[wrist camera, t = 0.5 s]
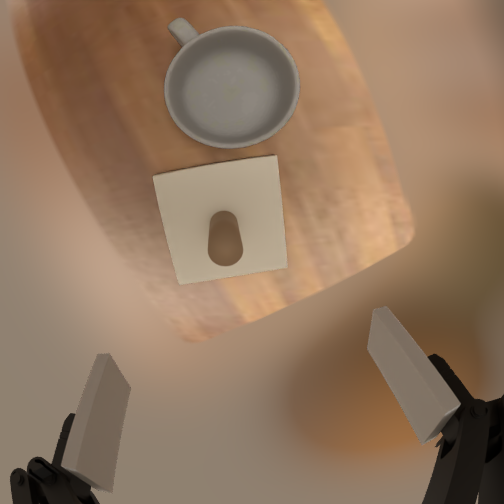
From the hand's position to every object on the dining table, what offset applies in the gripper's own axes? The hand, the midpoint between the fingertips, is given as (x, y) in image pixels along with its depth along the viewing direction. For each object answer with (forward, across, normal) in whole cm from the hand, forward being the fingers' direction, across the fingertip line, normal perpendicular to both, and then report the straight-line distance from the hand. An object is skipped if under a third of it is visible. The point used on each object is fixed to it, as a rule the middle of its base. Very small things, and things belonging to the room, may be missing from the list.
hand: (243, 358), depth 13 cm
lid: (+20, 0, 0) cm, 20 cm away
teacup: (+21, +2, +15) cm, 26 cm away
